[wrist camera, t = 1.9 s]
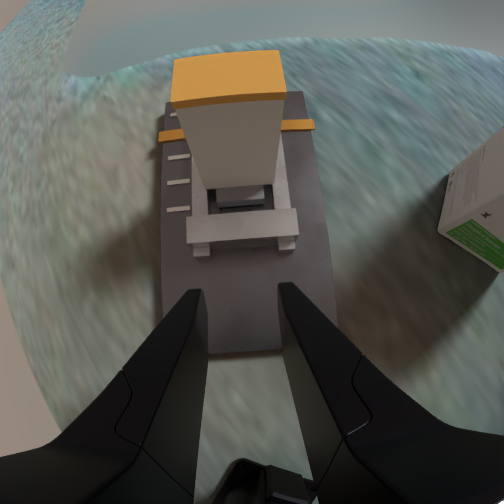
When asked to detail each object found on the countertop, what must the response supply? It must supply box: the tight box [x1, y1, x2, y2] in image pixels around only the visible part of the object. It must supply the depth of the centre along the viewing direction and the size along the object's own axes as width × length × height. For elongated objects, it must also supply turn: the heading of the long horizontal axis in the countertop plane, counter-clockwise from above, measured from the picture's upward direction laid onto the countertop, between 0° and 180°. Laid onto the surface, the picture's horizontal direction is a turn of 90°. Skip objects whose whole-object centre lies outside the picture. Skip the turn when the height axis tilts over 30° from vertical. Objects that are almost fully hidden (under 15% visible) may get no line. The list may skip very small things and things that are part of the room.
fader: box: [171, 50, 287, 208], centre depth 16 cm, size 4×4×10 cm
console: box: [158, 91, 338, 354], centre depth 20 cm, size 19×12×4 cm, turn 4°
